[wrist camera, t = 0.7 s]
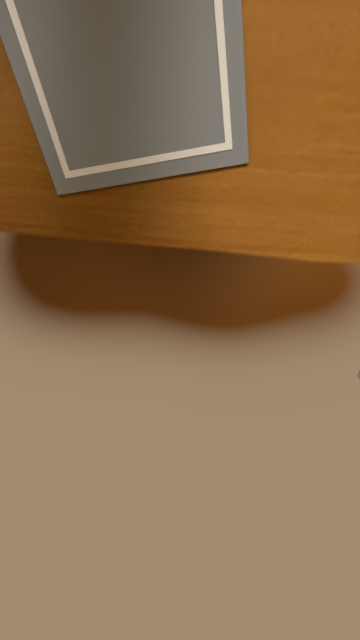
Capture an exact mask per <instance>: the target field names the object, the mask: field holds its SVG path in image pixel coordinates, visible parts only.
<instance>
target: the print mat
mask: <svg viewBox="0 0 360 640" xmlns="http://www.w3.org/2000/svg"><path fill="white" fill-rule="evenodd" d="M0 36H1V39H2V42H3V45H4V47H5V50H6V53H7V56H8V58H9V61H10V64H11V67H12V69H13V72H14V75H15V78H16V81H17V83H18V86H19V89H20V92H21V94H22V97H23V100H24V103H25V106H26V108H27V111H28V114H29V117H30V119H31V122H32V125H33V128H34V130H35V133H36V136H37V139H38V142H39V144H40V147H41V150H42V153H43V155H44V158H45V161H46V164H47V166H48V169H49V172H50V175H51V178H52V180H53V183H54V186H55V189H56V191H57V194H58V195H63V194H69V193H75V192H81V191H86V190H92V189H98V188H104V187H110V186H116V185H122V184H128V183H134V182H139V181H145V180H151V179H157V178H163V177H169V176H175V175H181V174H186V173H192V172H198V171H204V170H210V169H216V168H222V167H228V166H234V165H239V164H245V163H249V156H248V134H247V112H246V90H245V68H244V46H243V24H242V1H241V0H0Z"/></svg>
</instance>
